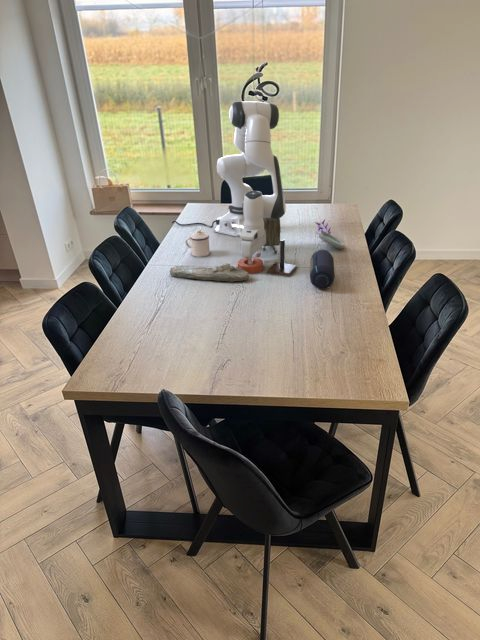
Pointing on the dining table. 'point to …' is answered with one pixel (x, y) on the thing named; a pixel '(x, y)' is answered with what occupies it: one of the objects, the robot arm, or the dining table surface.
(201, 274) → the long grey stone
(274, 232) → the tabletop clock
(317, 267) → the portable speaker
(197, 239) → the teacup with lid
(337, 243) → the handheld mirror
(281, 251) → the stand
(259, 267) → the ring
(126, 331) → the dining table surface
